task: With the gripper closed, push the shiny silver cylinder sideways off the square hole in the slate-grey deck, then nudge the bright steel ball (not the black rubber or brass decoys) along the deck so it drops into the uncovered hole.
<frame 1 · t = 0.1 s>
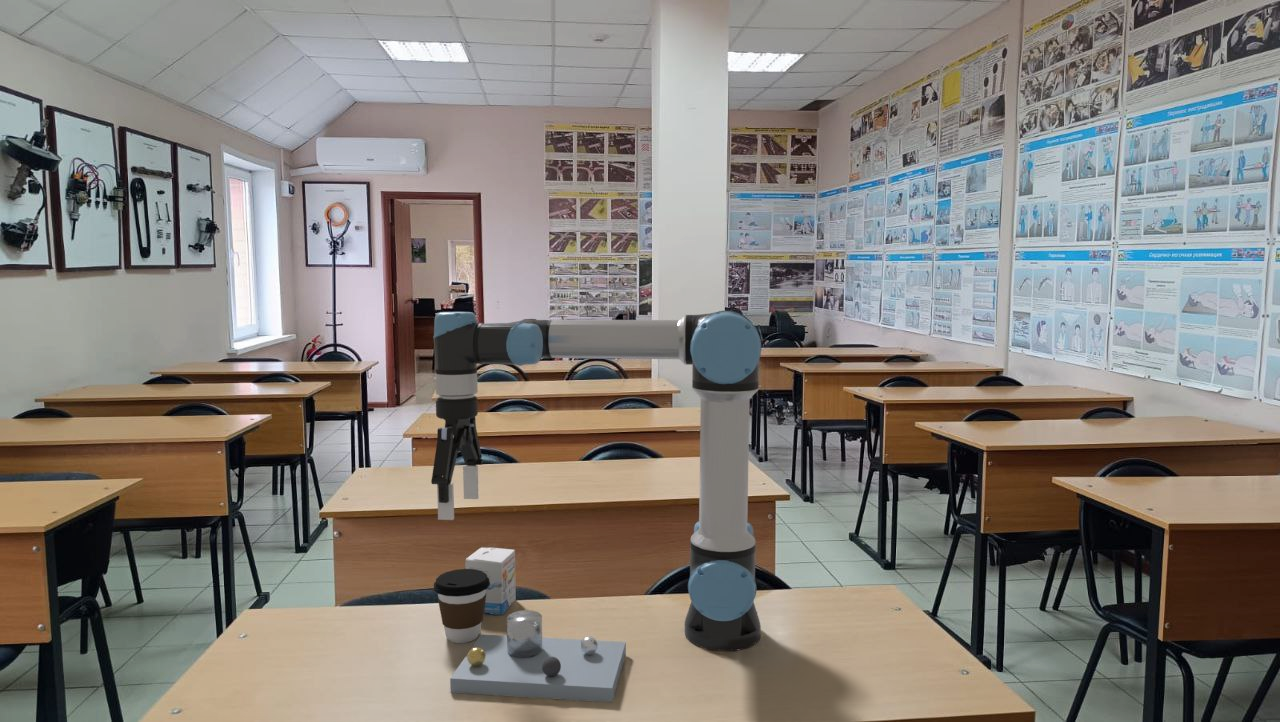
hand: (459, 508, 146), 28 cm above the table, fingers open, 13 cm apart
coffee cup: (463, 637, 156), on the table
ink box: (491, 606, 170), on the table
rubber ball: (551, 666, 135), point 4 cm above the table, touching deck
shiny silver cylinder: (524, 633, 144), point 6 cm above the table, slide at 0.0 cm
steel ball: (589, 645, 143), point 4 cm above the table, touching deck
brass ball: (476, 656, 138), point 4 cm above the table, touching deck
deck: (542, 672, 141), on the table
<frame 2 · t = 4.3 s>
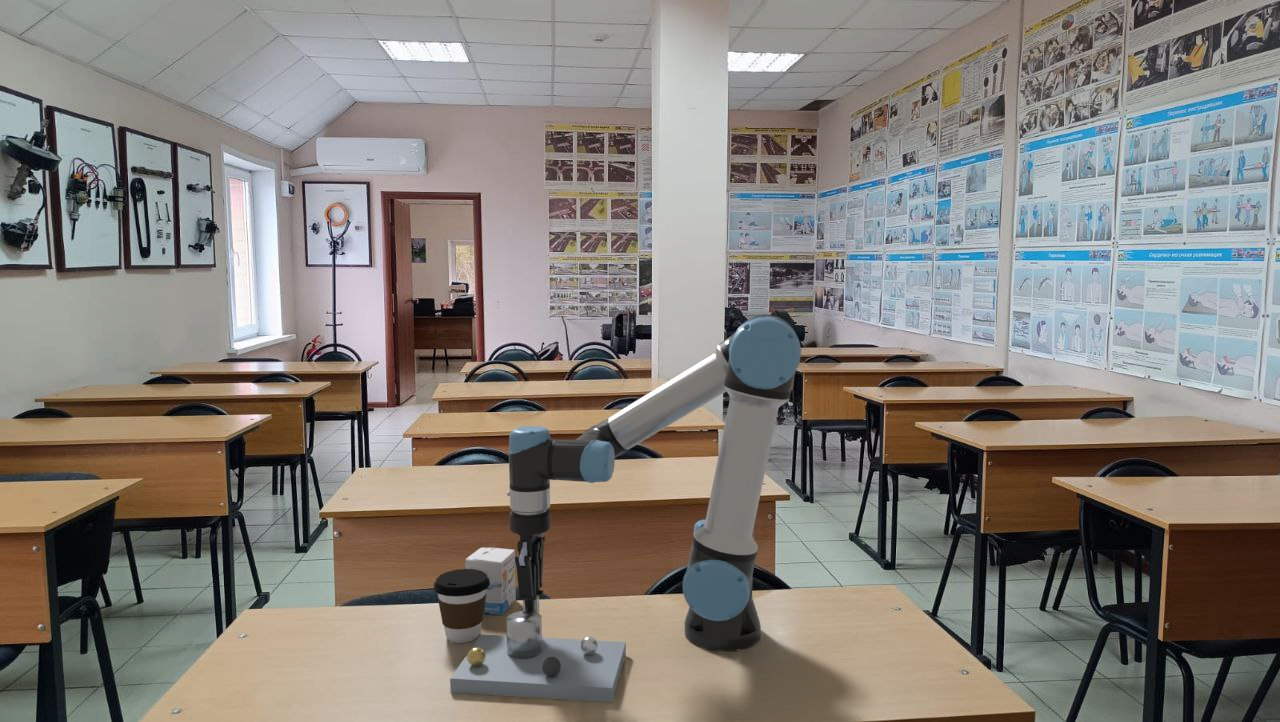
hand: (531, 630, 149), 4 cm above the table, fingers closed
shiny silver cylinder: (524, 633, 144), point 6 cm above the table, slide at 0.3 cm, touching gripper
everything else where it was.
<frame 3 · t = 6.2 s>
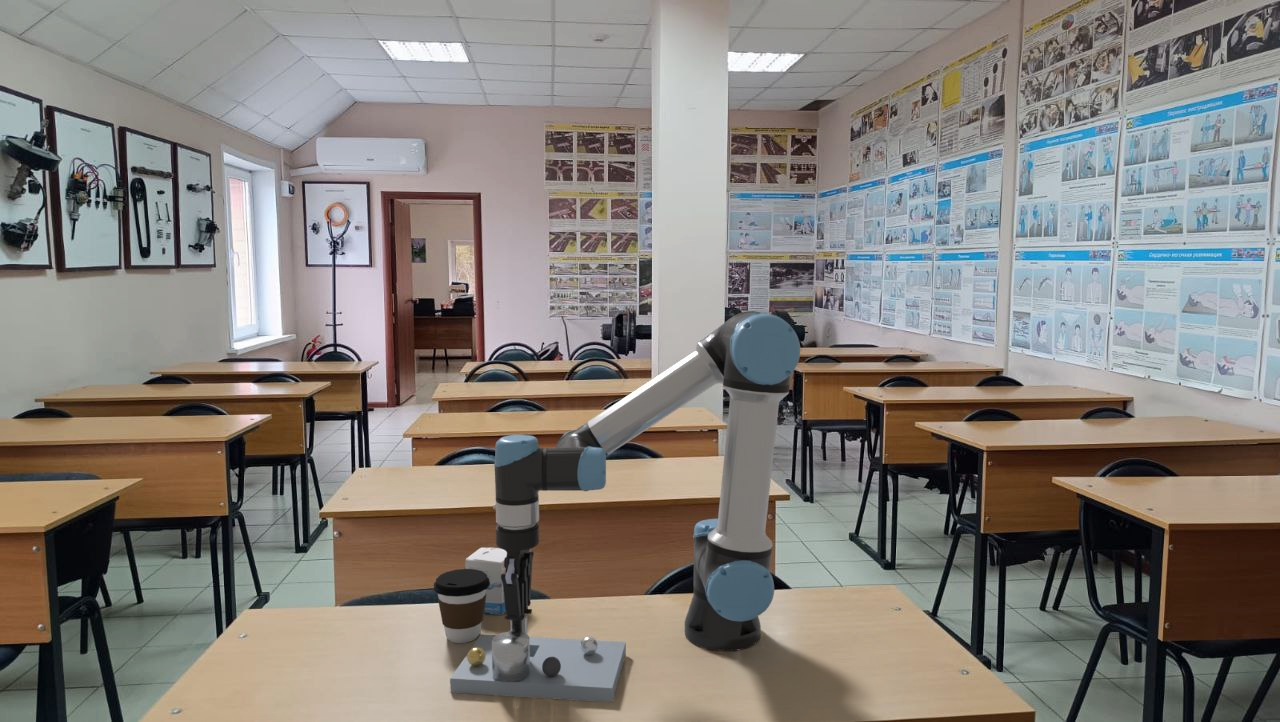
hand: (519, 651, 141), 4 cm above the table, fingers closed
shiny silver cylinder: (510, 656, 135), point 6 cm above the table, slide at 9.0 cm, touching gripper
everything else where it was.
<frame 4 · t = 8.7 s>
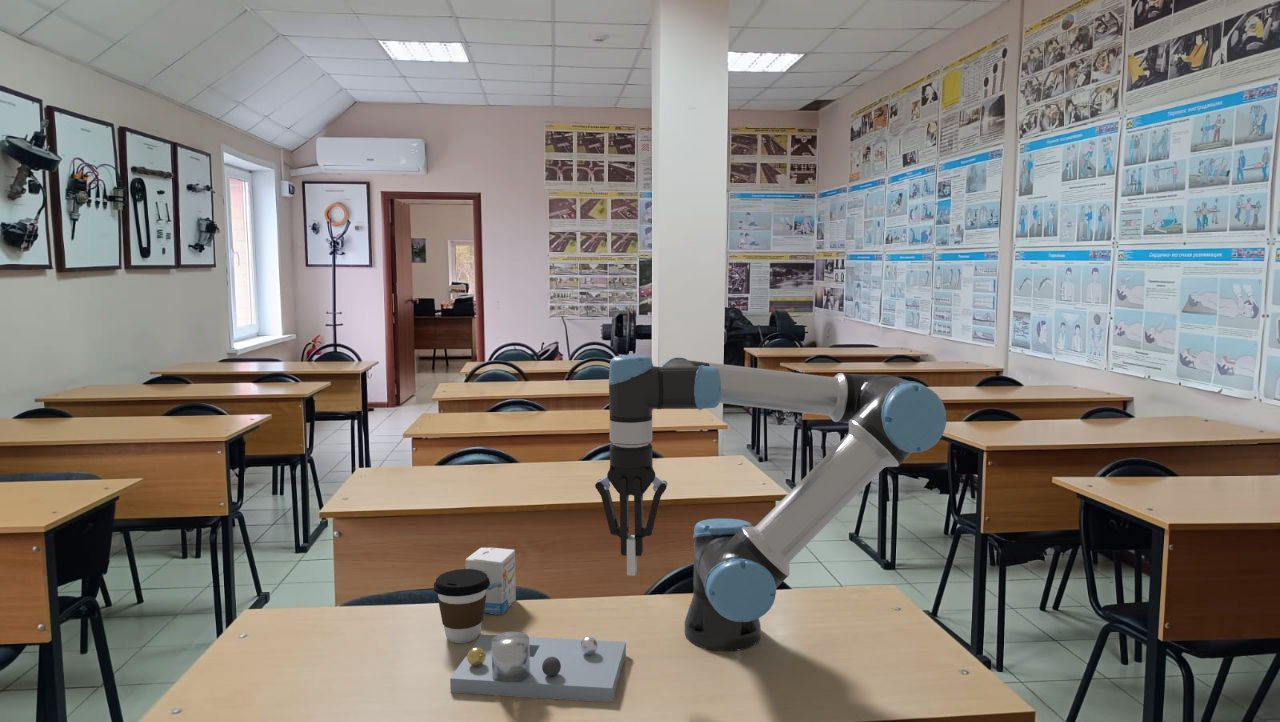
hand: (632, 572, 140), 18 cm above the table, fingers closed
shiny silver cylinder: (510, 656, 135), point 6 cm above the table, slide at 9.1 cm
everything else where it was.
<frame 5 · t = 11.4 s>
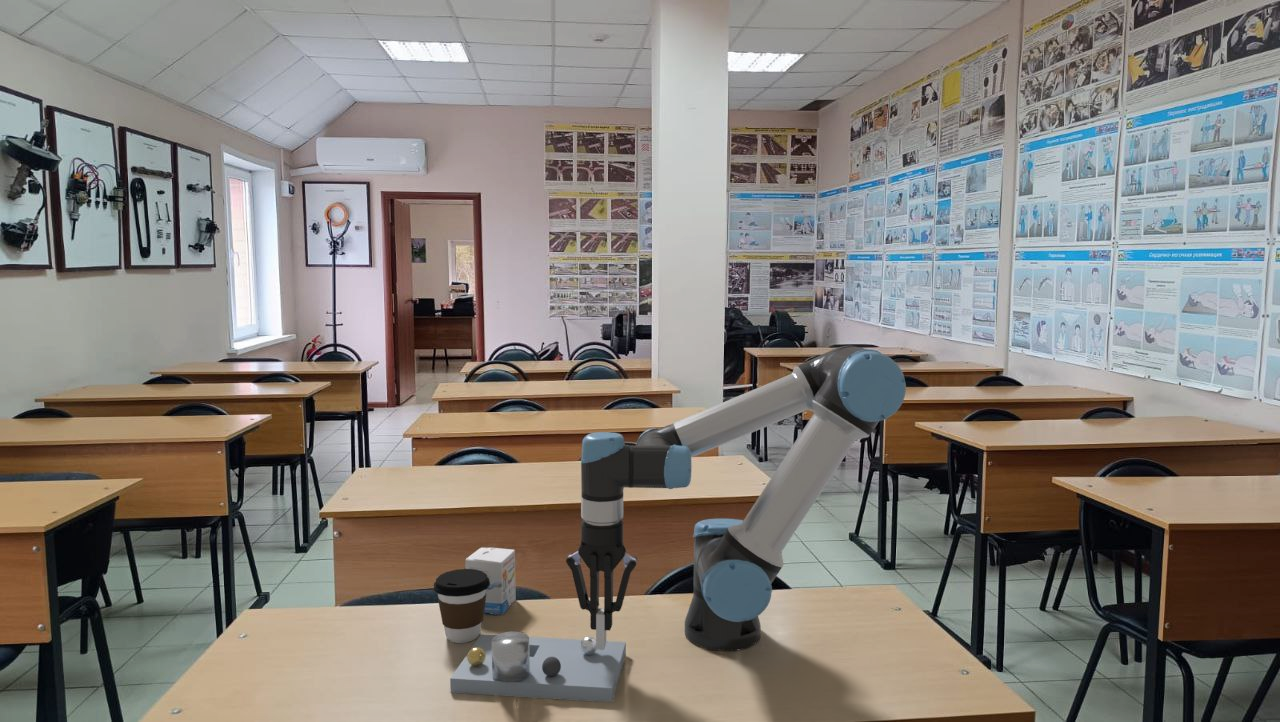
hand: (601, 646, 142), 4 cm above the table, fingers closed
steel ball: (588, 645, 143), point 4 cm above the table, touching deck, gripper
everything else where it was.
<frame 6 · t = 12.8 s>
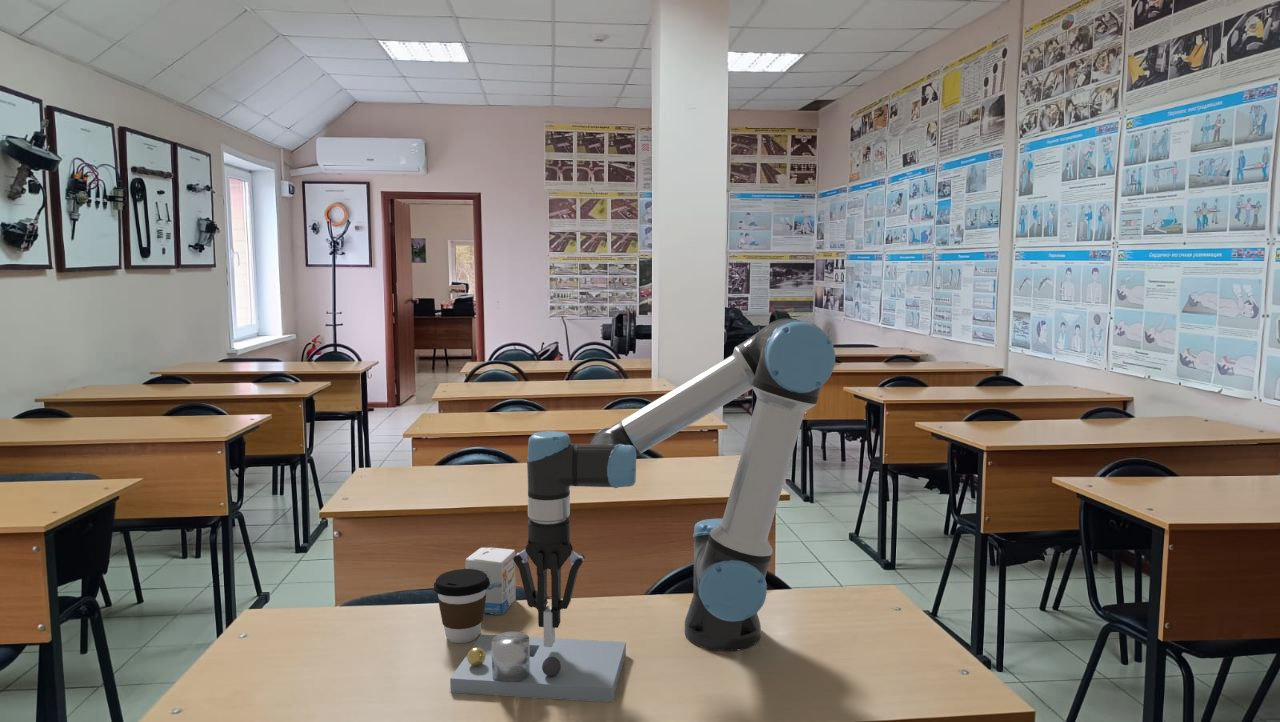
hand: (549, 643, 143), 4 cm above the table, fingers closed
steel ball: (521, 655, 144), point 2 cm above the table, tilted 132°
everything else where it was.
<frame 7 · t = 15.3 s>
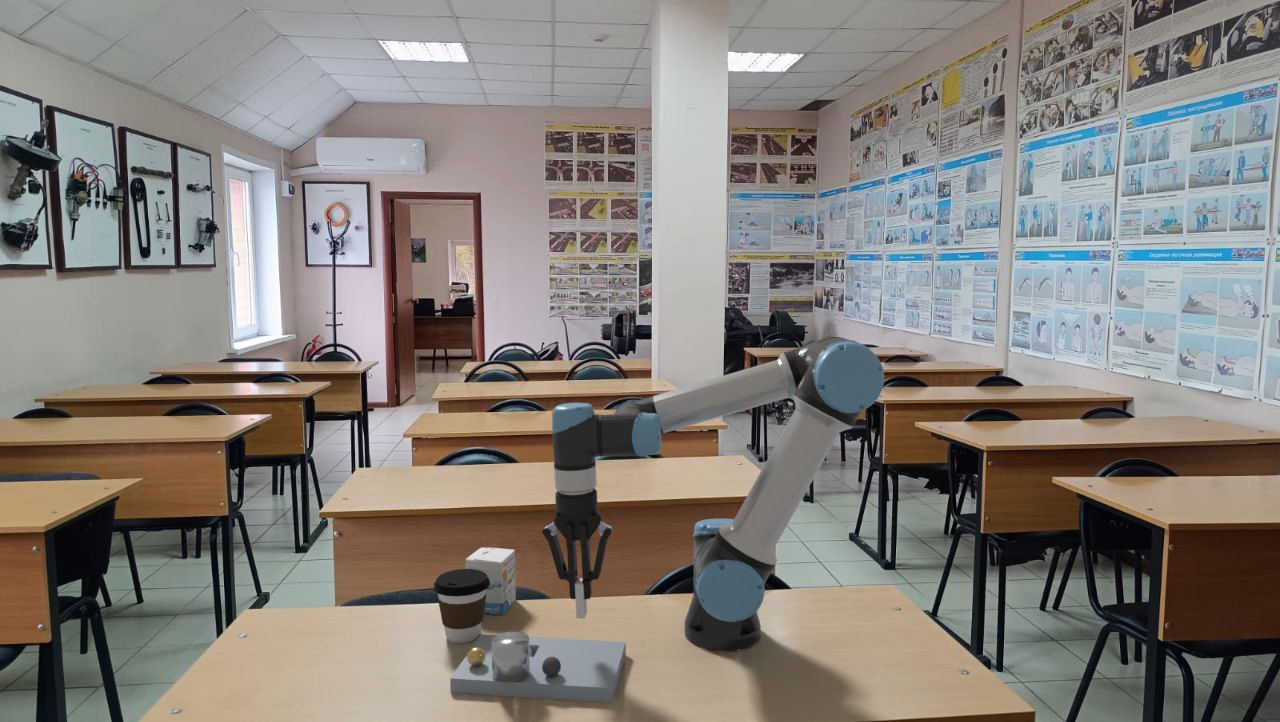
hand: (581, 615, 144), 9 cm above the table, fingers closed
steel ball: (523, 655, 144), point 2 cm above the table, tilted 116°
everything else where it was.
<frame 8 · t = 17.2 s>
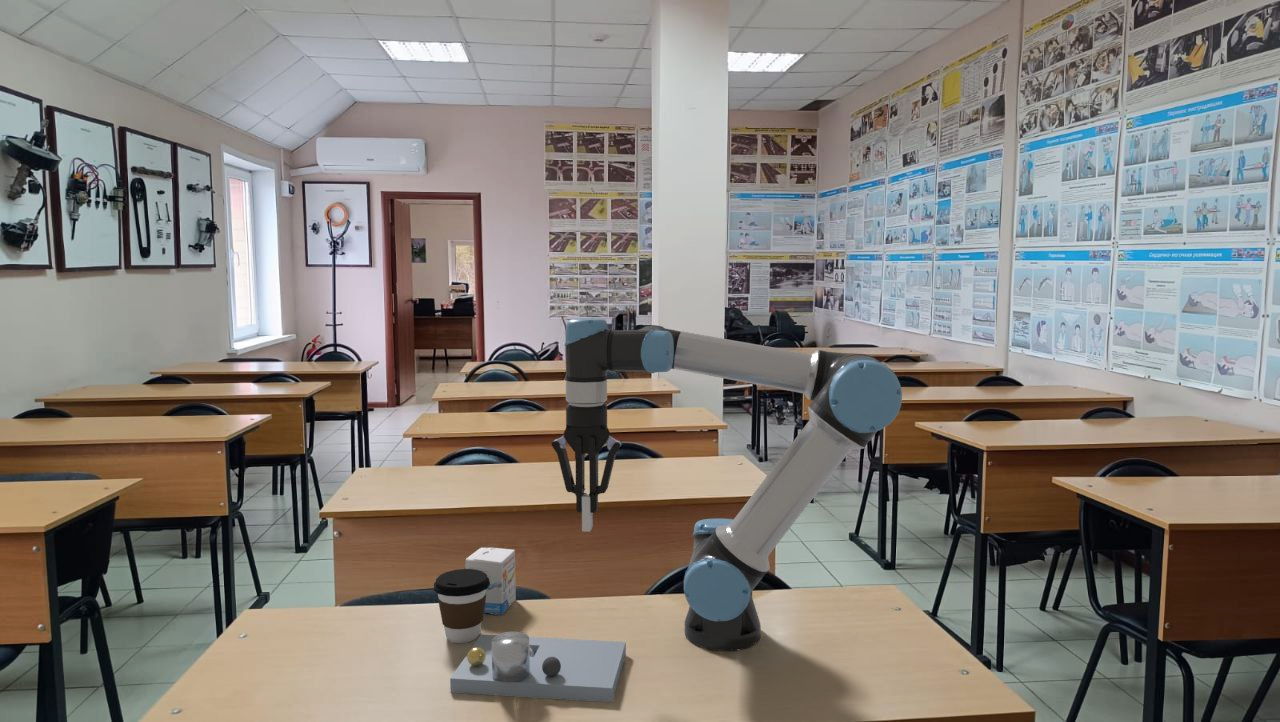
hand: (587, 529, 145), 24 cm above the table, fingers closed
steel ball: (525, 655, 144), point 2 cm above the table, tilted 105°
everything else where it was.
at the end: steel ball 0.1 cm from the target spot on the deck, point 1.6 cm above the deck's base; shiny silver cylinder slide at 9.1 cm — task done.
